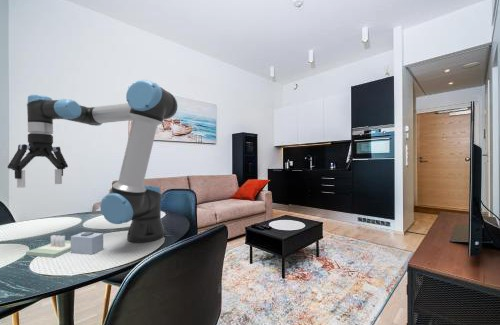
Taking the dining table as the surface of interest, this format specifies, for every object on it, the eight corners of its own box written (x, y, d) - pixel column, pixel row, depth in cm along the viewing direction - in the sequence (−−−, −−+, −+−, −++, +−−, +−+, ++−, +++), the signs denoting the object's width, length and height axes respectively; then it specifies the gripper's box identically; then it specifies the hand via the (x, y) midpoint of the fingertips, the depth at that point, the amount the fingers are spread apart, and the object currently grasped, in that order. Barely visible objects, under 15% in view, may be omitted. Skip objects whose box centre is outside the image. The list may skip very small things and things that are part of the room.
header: (85, 244, 88) (85, 231, 88) (54, 257, 76) (54, 242, 76) (60, 242, 90) (60, 230, 90) (26, 255, 78) (26, 240, 78)
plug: (103, 249, 83) (103, 231, 83) (91, 254, 79) (91, 236, 79) (83, 247, 85) (83, 230, 85) (70, 252, 80) (70, 234, 80)
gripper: (63, 137, 102) (64, 182, 102) (-7, 129, 78) (-7, 189, 78) (77, 137, 101) (77, 182, 101) (9, 128, 76) (10, 189, 76)
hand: (41, 185), depth 89 cm, fingers open, 13 cm apart
